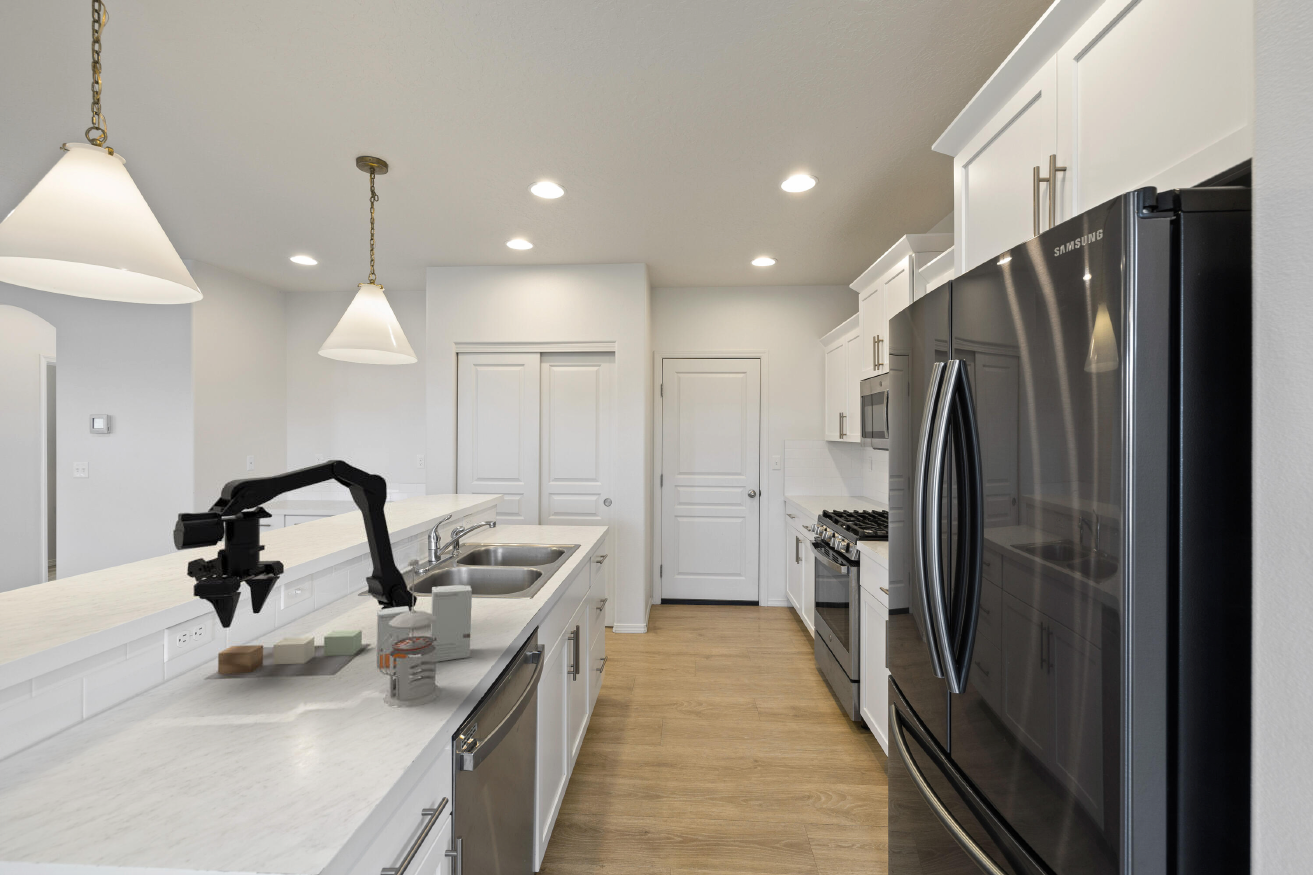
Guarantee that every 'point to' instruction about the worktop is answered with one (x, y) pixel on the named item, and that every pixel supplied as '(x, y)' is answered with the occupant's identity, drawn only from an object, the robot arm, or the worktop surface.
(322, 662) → the slate board
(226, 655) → the walnut brick
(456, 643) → the skincare box
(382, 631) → the skincare box
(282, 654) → the cream brick
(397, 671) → the french press
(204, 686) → the worktop surface
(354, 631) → the sage brick
